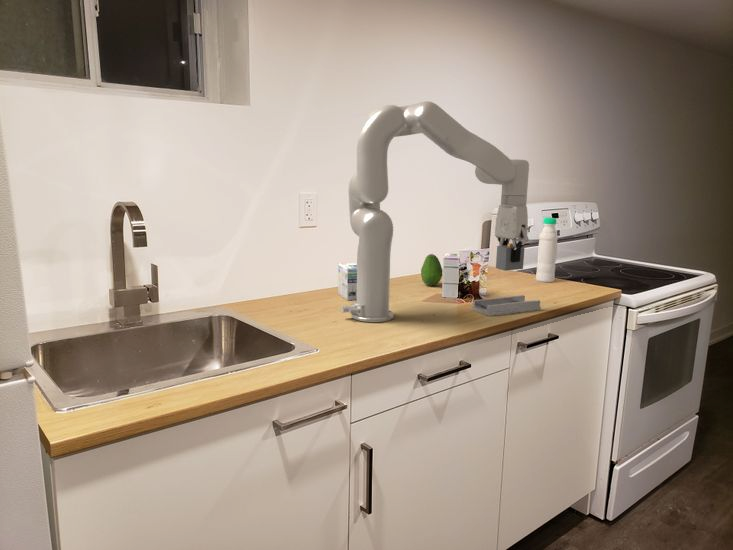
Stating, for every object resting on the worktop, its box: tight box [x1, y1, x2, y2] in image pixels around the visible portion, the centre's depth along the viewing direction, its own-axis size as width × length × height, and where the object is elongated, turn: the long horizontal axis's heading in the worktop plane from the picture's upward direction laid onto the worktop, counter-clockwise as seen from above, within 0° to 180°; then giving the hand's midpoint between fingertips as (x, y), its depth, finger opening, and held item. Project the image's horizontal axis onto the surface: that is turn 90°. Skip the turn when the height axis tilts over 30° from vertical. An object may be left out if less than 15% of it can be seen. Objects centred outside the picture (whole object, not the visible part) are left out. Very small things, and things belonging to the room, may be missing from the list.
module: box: [495, 242, 526, 272], centre depth 172 cm, size 7×4×8 cm, turn 116°
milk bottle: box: [535, 217, 559, 283], centre depth 219 cm, size 7×7×25 cm
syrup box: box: [441, 253, 461, 299], centre depth 191 cm, size 6×6×14 cm
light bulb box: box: [337, 262, 357, 301], centre depth 188 cm, size 11×7×11 cm, turn 20°
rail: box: [471, 294, 542, 317], centre depth 175 cm, size 20×9×3 cm, turn 116°
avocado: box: [420, 253, 443, 287], centre depth 208 cm, size 8×8×12 cm
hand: (509, 260), depth 173 cm, fingers closed on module, 4 cm apart
